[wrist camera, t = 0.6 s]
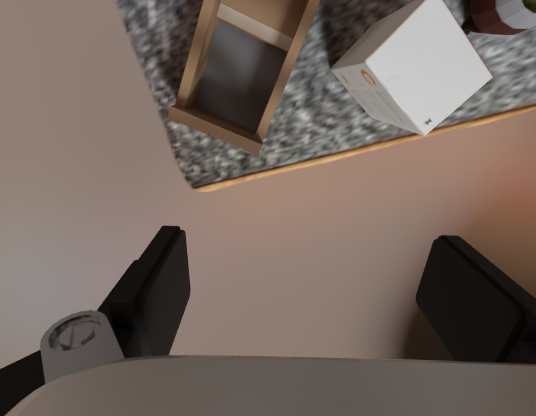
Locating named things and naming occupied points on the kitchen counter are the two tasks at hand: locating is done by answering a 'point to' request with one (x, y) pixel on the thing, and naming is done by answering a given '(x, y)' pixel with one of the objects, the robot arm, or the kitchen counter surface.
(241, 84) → the brown long open tray
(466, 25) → the mate gourd
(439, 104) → the small box
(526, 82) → the kitchen counter surface
